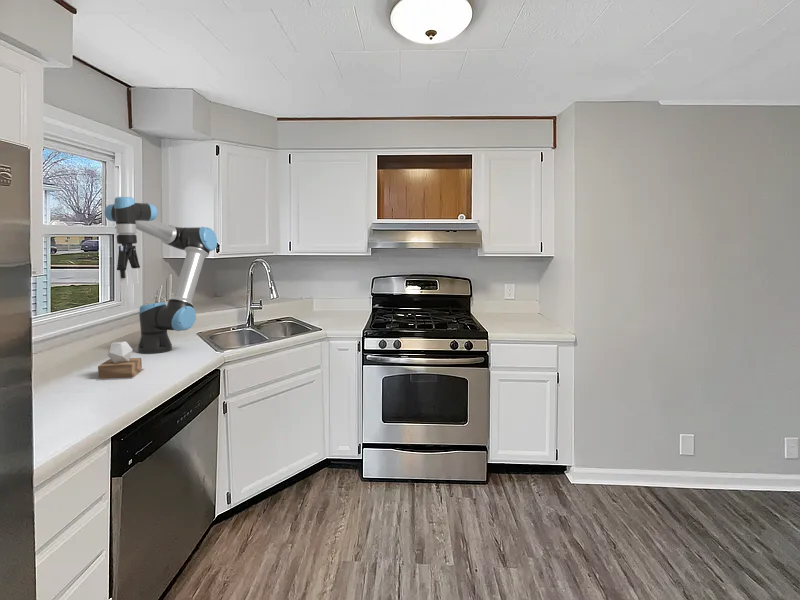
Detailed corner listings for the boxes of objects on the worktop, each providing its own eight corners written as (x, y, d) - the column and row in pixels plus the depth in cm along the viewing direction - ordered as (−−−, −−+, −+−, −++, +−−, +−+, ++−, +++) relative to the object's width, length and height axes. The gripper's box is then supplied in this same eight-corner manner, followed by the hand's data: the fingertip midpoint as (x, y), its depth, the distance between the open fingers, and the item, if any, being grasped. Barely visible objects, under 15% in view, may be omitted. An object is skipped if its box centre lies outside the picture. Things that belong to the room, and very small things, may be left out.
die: (131, 360, 220) (115, 341, 219) (141, 351, 216) (124, 333, 214) (115, 371, 214) (98, 352, 212) (125, 363, 209) (107, 344, 207)
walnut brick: (110, 371, 220) (109, 359, 219) (142, 370, 222) (141, 357, 221) (98, 378, 208) (97, 366, 208) (132, 377, 210) (131, 364, 209)
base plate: (111, 373, 222) (110, 370, 222) (144, 371, 224) (144, 368, 224) (95, 383, 206) (95, 380, 206) (132, 381, 208) (131, 378, 208)
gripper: (127, 234, 242) (130, 282, 244) (105, 234, 217) (109, 287, 220) (145, 234, 243) (148, 282, 245) (125, 234, 218) (129, 287, 221)
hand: (129, 284), depth 232 cm, fingers open, 13 cm apart
